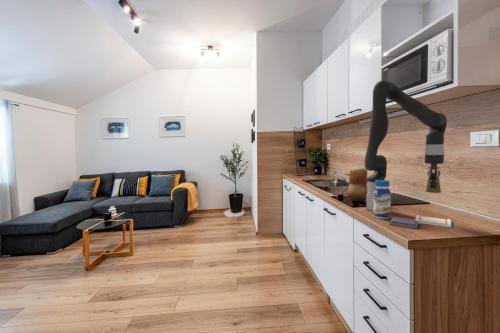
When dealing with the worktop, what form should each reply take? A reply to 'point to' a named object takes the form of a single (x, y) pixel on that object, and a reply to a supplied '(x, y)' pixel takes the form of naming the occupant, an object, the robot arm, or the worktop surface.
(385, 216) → the beverage bottle
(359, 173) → the butternut squash
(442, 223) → the marked board
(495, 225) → the worktop surface
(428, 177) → the olive rounded piece
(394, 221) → the ink pad
